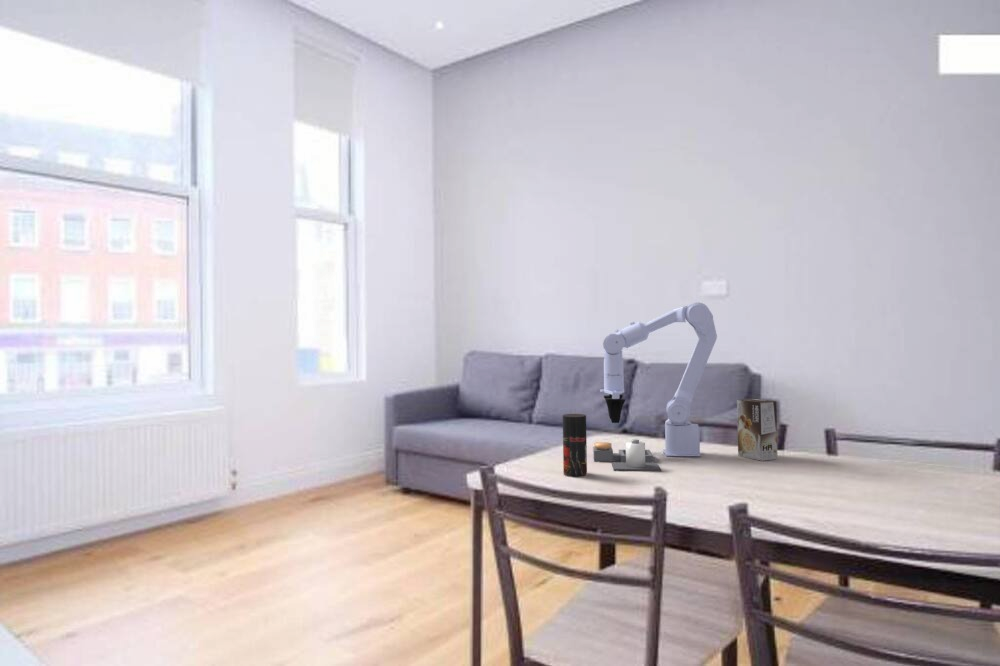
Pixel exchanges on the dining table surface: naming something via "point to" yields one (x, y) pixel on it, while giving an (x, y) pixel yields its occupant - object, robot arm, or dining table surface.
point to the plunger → (602, 445)
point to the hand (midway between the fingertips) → (614, 420)
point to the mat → (622, 467)
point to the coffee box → (757, 429)
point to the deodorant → (574, 445)
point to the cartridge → (635, 454)
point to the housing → (616, 455)
